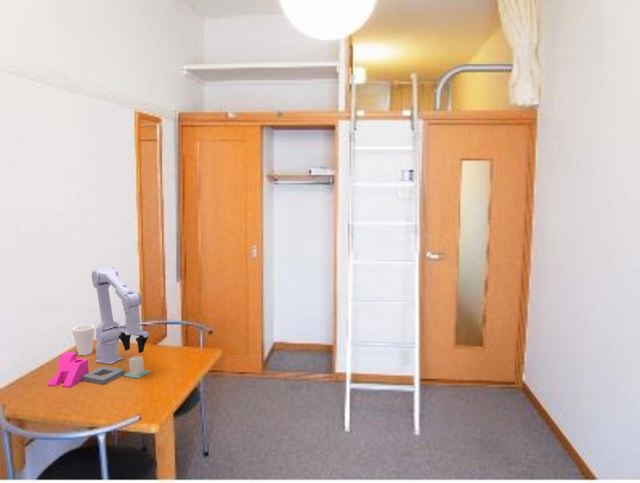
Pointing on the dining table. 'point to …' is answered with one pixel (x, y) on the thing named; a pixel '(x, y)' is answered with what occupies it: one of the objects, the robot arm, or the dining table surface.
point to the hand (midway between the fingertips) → (134, 351)
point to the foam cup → (84, 339)
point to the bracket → (69, 370)
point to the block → (136, 365)
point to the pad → (136, 375)
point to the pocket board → (96, 378)
